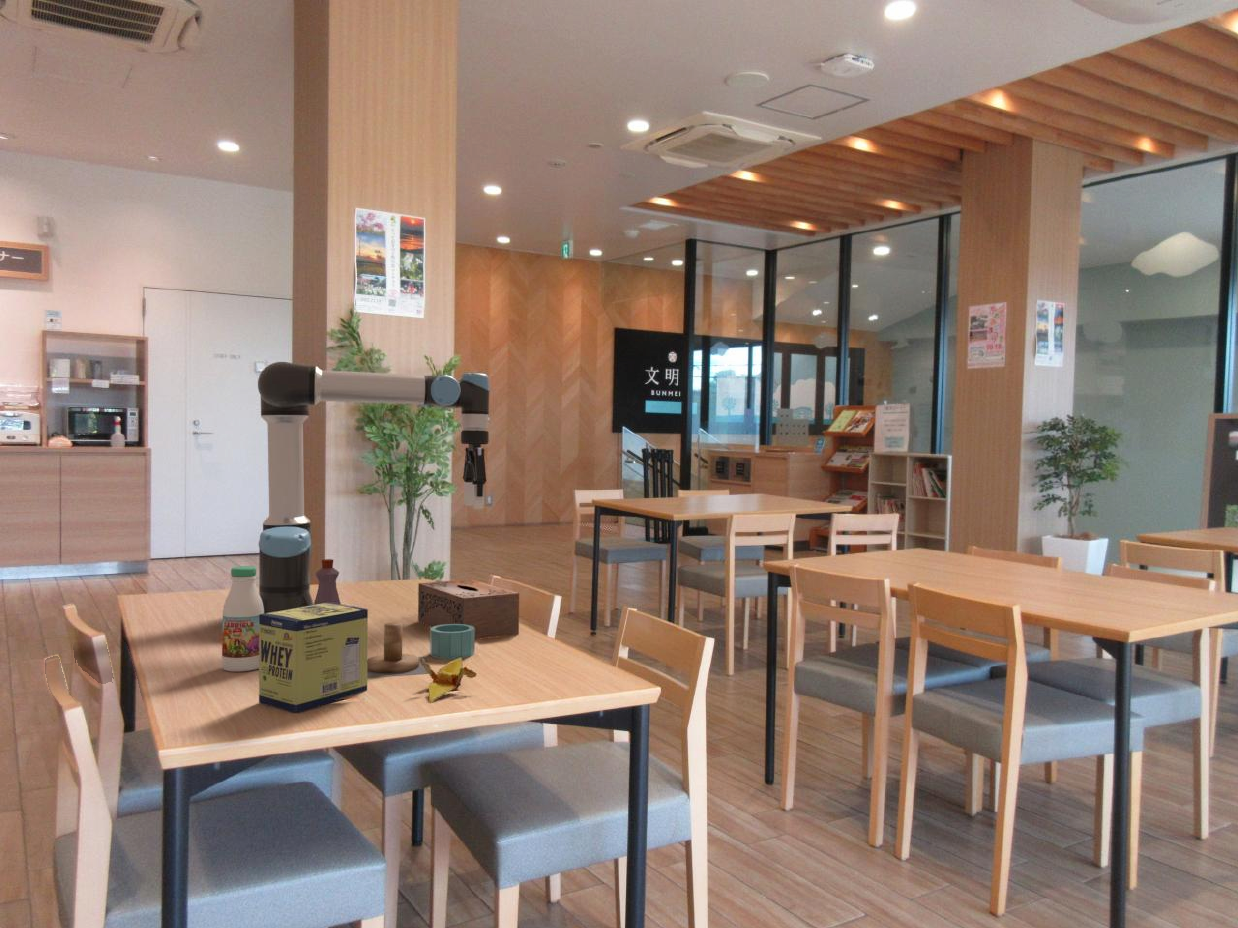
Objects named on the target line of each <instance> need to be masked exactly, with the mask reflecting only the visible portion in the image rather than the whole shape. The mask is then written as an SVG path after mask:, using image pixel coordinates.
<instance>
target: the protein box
mask: <svg viewBox="0 0 1238 928" xmlns="http://www.w3.org/2000/svg"><path fill="white" fill-rule="evenodd" d="M368 611H369V609H368V608H363V607H359V606H354V605H353V606H352V605H347V604H342V603H341V604H338V603H332V602H329V603H323V604H317V605H312V606H306V607H301V608H295V609H289V610H283V611H278V612H271V613H264V614H260V615H259V669H258V675H259V676H258V678H259V679H258V684H259V685H258V688H259V689H258V703H259V704H264V705H267V706H268V707H269V706H270V707H273V708H276V709H279V708H280V709H279V710H283V711H286V710H287V712H290V713H293V714H299V713H303V712H306V711H309V710H314V709H316V708H320V707H324V706H328V705H331V704H335V703H339V702H342V701H344V700H347V698H346V697H348V696H353V695H355V694H359V693H364V692H366V691H368V678H367V659H368V643H369V641H368V635H369V634H368V633H369V632H368V631H369V629H368V627H369V626H368V625H369V623H368V622H369V621H368V620H369V619H368V618H369V617H368V616H369V612H368Z"/></svg>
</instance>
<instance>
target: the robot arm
mask: <svg viewBox="0 0 1238 928" xmlns="http://www.w3.org/2000/svg"><path fill="white" fill-rule="evenodd" d="M257 389H258V392H259V395H260V417H261V418H262V420H264V421H265V422H266V424H267V469H268V470H267V472H268V473H267V475H268V477H267V479H268V480H267V481H268V517H267V518H266V519H265V520H264V521H262V532H261V533H260V535H259V541H258V549H259V552H258V553H259V559H258V560H259V562H258V563H259V575H258V577H259V578H258V582H259V583H258V584H259V585H258V586H259V587H258V590H259V591H258V593H259V595H260V597H261V599H262V602H263V606H264V613H271V612H278V611H283V610H289V609H295V608H301V607H306V606H312V605H314V601H313V598H312V595H311V590H310V589H311V588H310V585H311V584H310V583H311V581H310V580H311V579H310V578H311V557H312V556H311V555H312V554H313V545H312V534H311V533H312V532H311V531H312V530H311V529H312V528H311V525H312V524H311V520H310V519H309V518H308V517H306V515H305V484H304V483H305V479H304V478H305V477H304V476H305V475H304V474H305V473H304V425H303V424H304V423H305V421H306V420H307V419H308V418H309V417H310V416H309V415H310V413H309V411H310V410H309V409H310V407H309V405H310V406H312V405H314V406H317V405H318V404H319V403H321V402H339V403H340V402H341V403H365V404H367V403H370V404H371V403H372V404H392V405H393V404H394V405H397V404H399V405H418V407H423V408H424V407H425V408H426V407H427V408H456V409H459V408H460V409H461V410H460V411H461V413H460V428H461V429H462V430H461V432H460V443H461V444H462V445H468V446H466V447H465V449H464V450H465V456H464V457H465V458H464V465H463V475H462V480H463V481H464V488H463V489H464V490H463V491H464V492H463V494H464V495H463V496H464V497H463V502H464V503H463V505H464V506H473V510H484V509H485V484H486V483H487V475H486V462H485V447H482V445H488V444H489V438H490V437H489V436H490V435H489V431H488V429H489V426H490V423H489V422H491V421H492V419H491V418H489V414H490V392H491V391H490V379H489V376H488V375H487V374H485V373H480V372H479V373H478V372H477V373H476V372H474V373H472V372H470V373H463V374H462V375H461V379H459V380H457V379H456V378H455V377H453V376H451V375H446V374H442V375H423V374H407V373H406V374H405V373H402V374H400V373H385V372H384V373H382V372H381V373H380V372H363V371H362V372H360V371H343V370H342V371H341V370H322V369H320V368H319V366H317V365H308V364H307V365H306V364H298V363H293V362H287V361H276V362H272V363H271V364H268V365H267V366H266V367H265V368H264V369H262V371H261V372H260V374H259V377H258V379H257Z"/></svg>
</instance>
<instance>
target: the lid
mask: <svg viewBox="0 0 1238 928" xmlns="http://www.w3.org/2000/svg"><path fill="white" fill-rule="evenodd" d="M383 629H384V631H383V632H384V633H383V635H384V637H383V654H379V655H374V656H371V657H369V658H367V670H369V671H371V672H375V673H402V672H408V671H412V670H415V669H417V668H418V667H419V658H418V657H419V656H417V655H414V654H408V653H403V622H386V623H384V625H383Z"/></svg>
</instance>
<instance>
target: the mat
mask: <svg viewBox="0 0 1238 928" xmlns="http://www.w3.org/2000/svg"><path fill="white" fill-rule="evenodd" d="M417 657H418V658H419V667H418V668H417V669H415V670H412V671H408V672H402V673H375V672H371V671H369V670H367V679H373V678H387V677H402V676H414V675H415V676H416V675H429V674H428V673H427V671H426V670H425V668H424V666H423V665H422V664H421V661H420V660H421V658H422V659H423V660H425V662H426V663H428V660H427V659H426V657H425V656H417Z"/></svg>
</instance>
